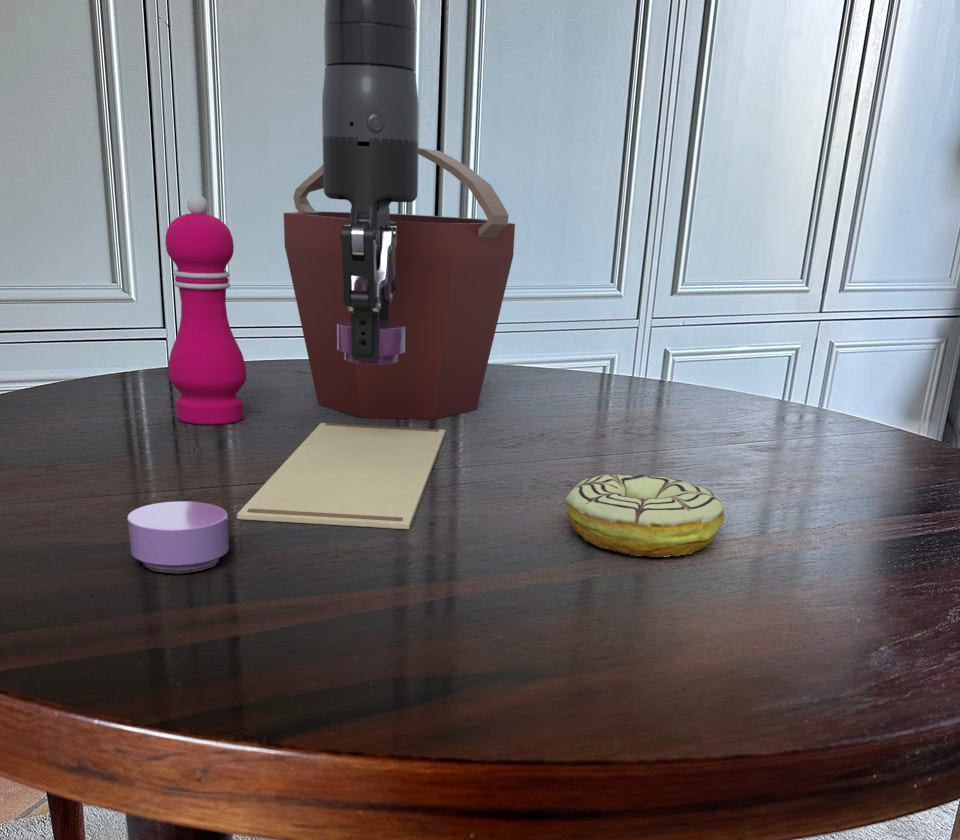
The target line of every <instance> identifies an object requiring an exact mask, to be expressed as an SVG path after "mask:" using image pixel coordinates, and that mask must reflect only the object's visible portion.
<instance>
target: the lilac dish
mask: <svg viewBox="0 0 960 840" xmlns="http://www.w3.org/2000/svg"><path fill="white" fill-rule="evenodd" d="M228 516H229V515H228V511H226V510H225V509H224V508H222V507H220V506H218V505H216V504H212V503H207V502H200V501H187V500H185V501H183V500H181V501H180V500H179V501H164V502H158V503H152V504H147V505H144V506H140V507H138V508H135V509H134V510H132V511H130V512H128V515H127V517H126V522H127V533H128V541H129V551H130V555H131V556H132V557H133V558H134V559H136V560H138V561H140V562H141V563H142V562H143V563H144V564H145V565H147V566H149V567H154V568H160V569H168V570H169V569H171V570H172V569H174V570H189V569H196V568H200V567H205V566H208V565H211V564H213V563H215V562H217V561H218V559H220V560H221V558H222V557H223V556H225V555H226V554H227V553H228V552H229V550H230V536H229V520H228Z"/></svg>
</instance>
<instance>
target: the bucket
mask: <svg viewBox="0 0 960 840" xmlns="http://www.w3.org/2000/svg"><path fill="white" fill-rule="evenodd" d="M419 155H420V156H421V157H423V158H424V159H427V160H429V161H430V162H431V163H434V164H436V165H437V166H439V167H441V168H442V169H444V170H445V171H447V172H448V173H450V174H451V175H452V176H453V177H455V178H456V179H457V180H459V181H460V182H461V184H463V185H464V186H465V187H466V188H468V189H469V191H470V193H471V194H472V195H473V197H474V198H475V200H476V202H477V203H478V204H479V206H480V208H481V209H482V211H483V212H484V216H486V218H474V217H455V216H442V215H441V216H439V215H425V214H424V215H423V214H411V213H410V214H409V213H408V214H407V213H390V222H396V226H397V233H398V241H397V245H396V250H395V253H396V274H395V284H396V289H395V290H394V294H393V300H392V302H391V304H386V305H390V321H393V322H399V323H402V324H405V325H406V351H405V353H403V354H400V355H399V360H398V362H397V363H393V364H386V365H365V364H356V363H351V362H347V361H345V356H344V353H342V352H340V351H338V350H337V323H338V322H341V321H346V320H351V313H352V312H349V310H348V307H347V306H345V304H344V302H343V295H344V284H343V258H342V238H341V235H340V234H341V231H342V227H343V226H344V225H349V224H350V215H351V211H326V210H325V211H322V210H321V211H320V210H315V209H314V207H313V206H312V204H311V203H310V201H309V200H308V198H307V197H308V195H309V194H310V193H312V192H316V191H319V190H324V181H323V164H321V166H320V167H319V168H318V169H317V170H316V171H314V172H313V173H312V174H311V175H309V176H308V177H307V178H306V179H305V180H304V181H303V182H302V183H300V184H299V185H298V186H297V187H296V188H295V190H294V194H293V200H294V201H293V202H294V207H295V209H296V211H291V212H283V236H284V237H283V238H284V249H285V253H286V258H287V263H288V268H289V272H290V277H291V283H292V288H293V292H294V297H295V303H296V305H297V310H298V315H299V320H300V326H301V329H302V334H303V339H304V343H305V348H306V352H307V358H308V362H309V363H308V364H309V367H310V372H311V376H312V382H313V386H314V391H315V395H316V400H317V404H318V405H320V406H323V407H326V408H329V409H333V410H335V411H339V412H342V413H346V414H349V415H352V416H355V417H359V418H375V419H376V418H377V419H403V420H405V419H406V420H433V421H434V420H439V419H443V418H446V417H447V418H448V417H451V416H454V415H459V414H463V413H468V412H471V411H476V410H477V409H478V406H479V403H480V402H479V401H480V397H481V393H482V389H483V385H484V380H485V378H486V377H485V376H486V372H487V368H488V364H489V361H490V355H491V351H492V348H493V343H494V339H495V334H496V329H497V327H498V326H497V325H498V322H499V317H500V313H501V309H502V305H503V301H504V296H505V292H506V289H507V284H508V279H509V276H510V271H511V267H512V262H513V259H514V252H515V251H514V249H515V232H516V223H514V222H513V223H512V222H509V216H510V215H509V213H508V211H507V210H506V208H505V205H504V204H503V203H502V200H501V199H500V197H499V195H498V194H497V192H496V191H495V190H494V188H493V186H492V185H491V184H490V183H489V182H488V181H486V180H485V179H484V178H482V177H481V176H480V175H479V174H478V173H476V172H475V171H474V170H473V169H472V168H470V167H469V166H467V165H466V164H464V163H462V162H461V161H459V160H458V159H456V158H454V157H452V156H450V155H449V154H446V153H444V152H442V151H441V150H435V149H430V148H423V147H418V156H419ZM357 291H362V285H359V286H358V287H357ZM353 313H354V312H353ZM475 409H476V410H475Z"/></svg>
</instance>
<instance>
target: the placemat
mask: <svg viewBox="0 0 960 840" xmlns="http://www.w3.org/2000/svg"><path fill="white" fill-rule="evenodd" d="M445 435H446V429H440V428H439V429H437V428H420V427H405V426H404V427H403V426H402V427H401V426H386V425H370V424H369V425H365V424H352V423H351V424H348V423H333V422H332V423H330V422H320V423H319V424H318V426H316V428H314V430H313V431H312V432H311V433H310V434H309V435H308V436H307V437H306V439H304V441H302V443H301V444H300V445H299V446H298V447H297V448H296V449H295V450H294V452H293V453H292V454H291V455H290V456H289V457H288V458H287V459H286V460H285V461H284V463H282V464H281V466H280V467H279V468H278V469H277V470H276V471H275V472H274V473H273V474H272V475H271V477H269V479H268V480H267V481H266V482H265V483H264V484H263V485H262V486H261V487H260V488H259V489H258V490H257V492H256V493H255V494H254V495H253V496H252V497H251V498H250V499H249V501H247V502H246V503H245V504H244V506H243V507H242V508H241V509H240V510H239V511H238V512H237V513H236V519H237V520H243V521H244V520H245V521H260V522H261V521H262V522H277V523H279V522H280V523H294V524H310V525H312V524H313V525H329V526H330V525H331V526H346V527H361V528H362V527H364V528H380V529H395V530H397V529H399V530H410V528H411V526H412V523H413V521H414V518H415V515H416V512H417V509H418V507H419V504H420V502H421V499H422V497H423V494H424V491H425V488H426V486H427V483H428V481H429V478H430V476H431V473H432V470H433V467H434V464H435V462H436V460H437V457H438V454H439V451H440V449H441V446H442V444H443V440H444V439H445Z"/></svg>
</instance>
